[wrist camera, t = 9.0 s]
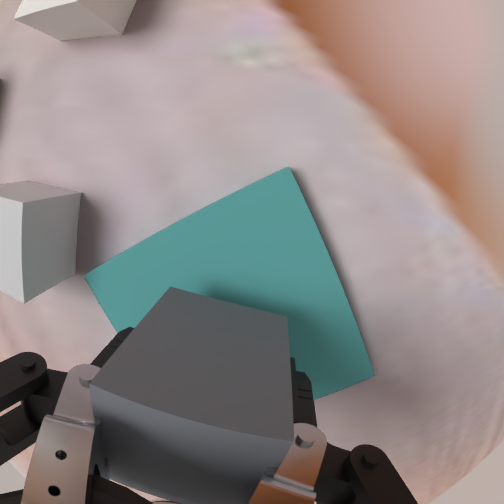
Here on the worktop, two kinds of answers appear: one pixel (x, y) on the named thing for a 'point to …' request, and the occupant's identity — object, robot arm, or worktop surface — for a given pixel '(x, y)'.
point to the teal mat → (248, 276)
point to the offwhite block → (76, 17)
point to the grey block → (36, 237)
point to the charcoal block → (197, 400)
